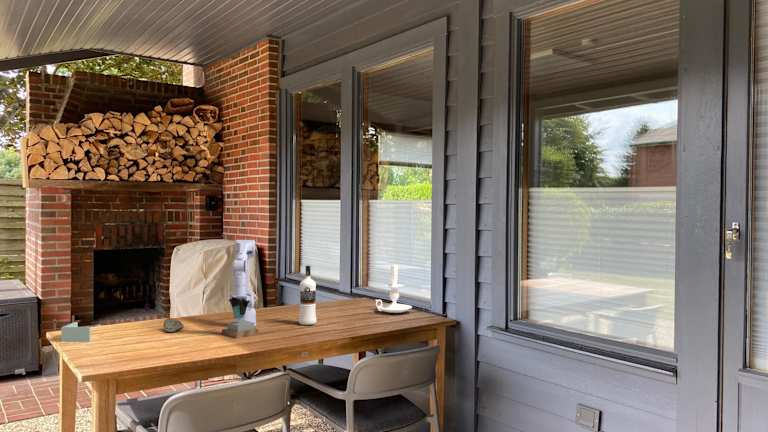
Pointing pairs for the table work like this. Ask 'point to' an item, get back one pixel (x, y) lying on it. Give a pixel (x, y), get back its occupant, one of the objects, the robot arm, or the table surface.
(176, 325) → the rock sample
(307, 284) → the vodka
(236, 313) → the teal cylinder
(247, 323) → the gray top slab
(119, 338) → the table surface
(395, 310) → the candlestick
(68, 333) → the right angle wall
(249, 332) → the walnut base slab
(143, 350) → the table surface
